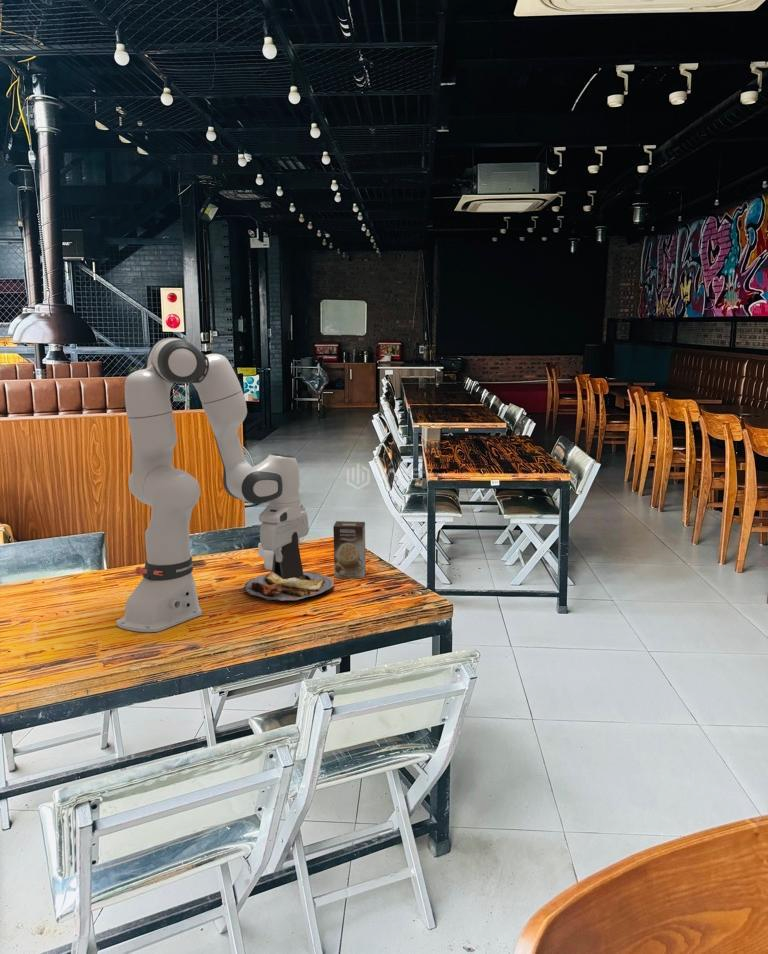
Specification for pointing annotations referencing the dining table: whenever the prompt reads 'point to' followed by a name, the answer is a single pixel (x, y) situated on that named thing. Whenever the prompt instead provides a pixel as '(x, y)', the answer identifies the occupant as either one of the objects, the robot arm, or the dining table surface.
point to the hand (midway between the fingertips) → (286, 558)
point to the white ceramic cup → (266, 557)
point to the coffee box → (349, 549)
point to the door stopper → (289, 560)
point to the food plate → (288, 586)
